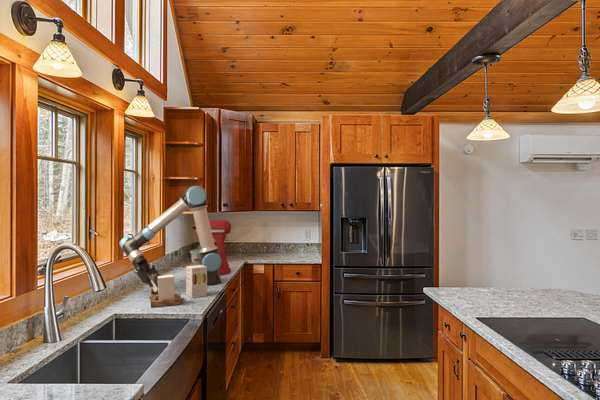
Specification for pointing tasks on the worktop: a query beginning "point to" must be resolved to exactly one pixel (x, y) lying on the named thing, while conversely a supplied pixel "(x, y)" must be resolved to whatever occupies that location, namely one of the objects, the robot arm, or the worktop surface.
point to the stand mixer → (219, 234)
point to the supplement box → (196, 281)
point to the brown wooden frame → (154, 300)
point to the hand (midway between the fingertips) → (159, 289)
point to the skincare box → (166, 287)
